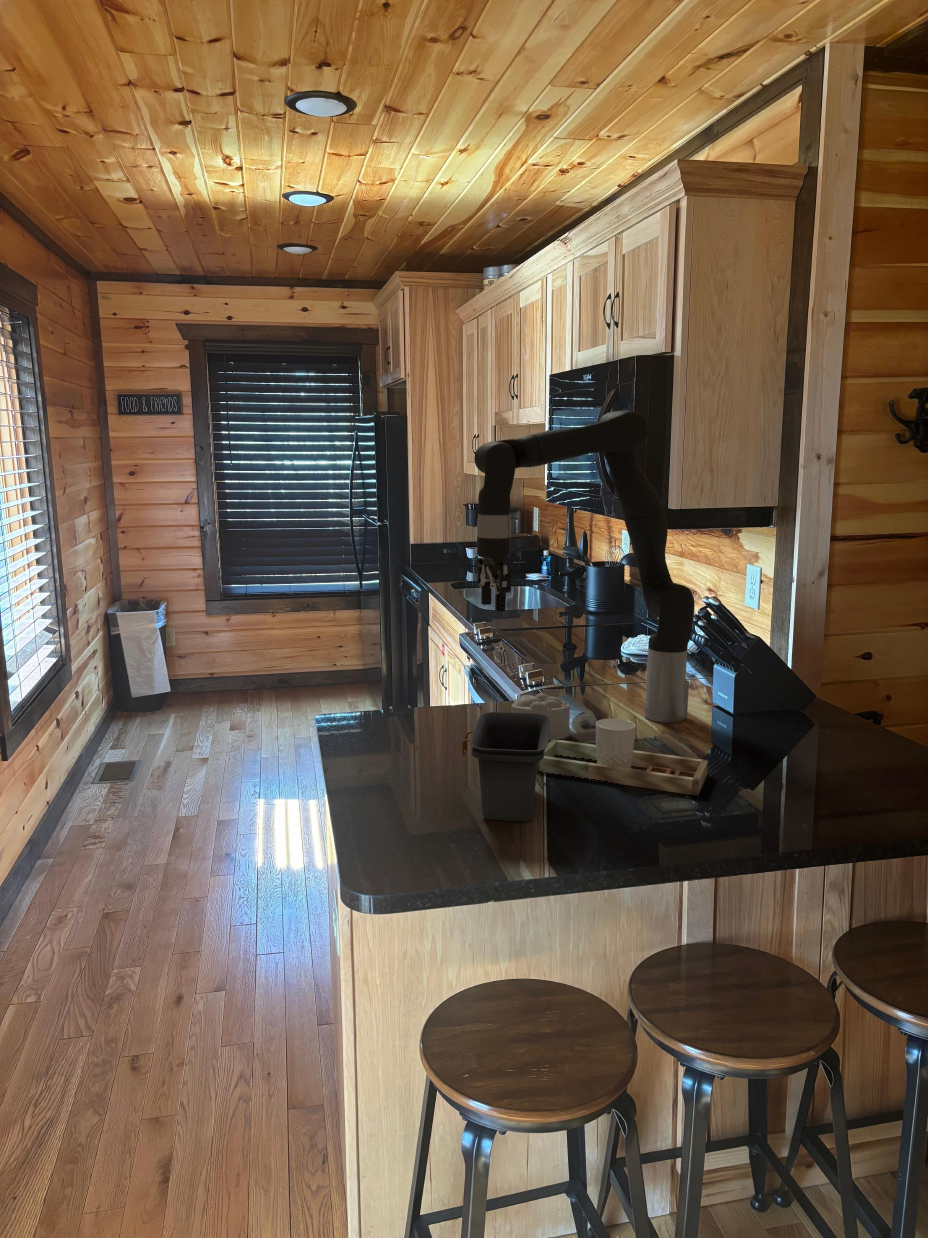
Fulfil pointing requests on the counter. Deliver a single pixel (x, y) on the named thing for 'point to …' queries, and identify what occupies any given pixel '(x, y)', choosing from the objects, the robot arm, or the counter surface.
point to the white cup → (615, 742)
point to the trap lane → (655, 777)
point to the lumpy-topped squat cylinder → (546, 712)
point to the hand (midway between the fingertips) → (493, 607)
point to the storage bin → (508, 761)
